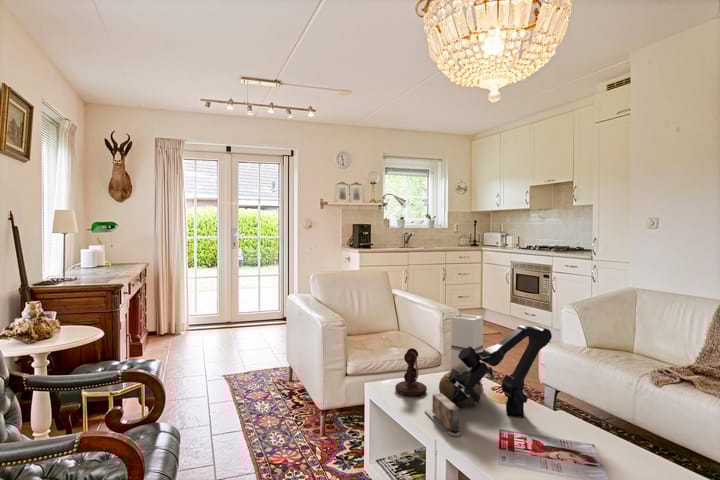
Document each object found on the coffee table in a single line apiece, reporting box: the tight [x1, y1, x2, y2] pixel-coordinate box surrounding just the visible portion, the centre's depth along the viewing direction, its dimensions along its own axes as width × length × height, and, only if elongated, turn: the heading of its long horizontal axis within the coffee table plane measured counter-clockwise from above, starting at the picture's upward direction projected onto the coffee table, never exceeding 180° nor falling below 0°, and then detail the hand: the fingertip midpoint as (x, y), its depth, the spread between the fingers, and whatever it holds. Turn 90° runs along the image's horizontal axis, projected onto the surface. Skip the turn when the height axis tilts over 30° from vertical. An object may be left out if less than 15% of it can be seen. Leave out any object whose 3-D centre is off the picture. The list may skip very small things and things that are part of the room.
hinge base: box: [447, 429, 463, 438], centre depth 163 cm, size 5×5×1 cm
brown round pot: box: [438, 363, 483, 408], centre depth 194 cm, size 20×17×17 cm
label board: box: [424, 409, 461, 432], centre depth 175 cm, size 18×7×1 cm, turn 14°
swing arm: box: [431, 392, 460, 431], centre depth 171 cm, size 18×4×8 cm, turn 14°
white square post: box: [450, 313, 484, 389], centre depth 211 cm, size 11×11×35 cm
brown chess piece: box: [394, 348, 428, 398], centre depth 206 cm, size 15×15×20 cm
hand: (449, 404), depth 175 cm, fingers closed
